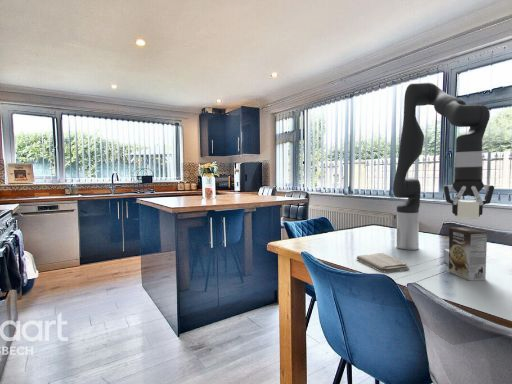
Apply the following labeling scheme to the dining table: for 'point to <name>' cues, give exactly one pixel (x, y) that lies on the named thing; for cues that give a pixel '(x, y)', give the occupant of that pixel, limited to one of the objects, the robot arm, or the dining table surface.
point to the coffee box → (467, 253)
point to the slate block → (446, 256)
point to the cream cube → (468, 209)
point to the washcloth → (383, 262)
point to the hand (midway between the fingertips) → (466, 215)
